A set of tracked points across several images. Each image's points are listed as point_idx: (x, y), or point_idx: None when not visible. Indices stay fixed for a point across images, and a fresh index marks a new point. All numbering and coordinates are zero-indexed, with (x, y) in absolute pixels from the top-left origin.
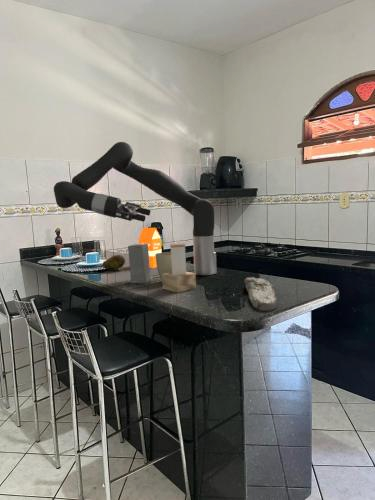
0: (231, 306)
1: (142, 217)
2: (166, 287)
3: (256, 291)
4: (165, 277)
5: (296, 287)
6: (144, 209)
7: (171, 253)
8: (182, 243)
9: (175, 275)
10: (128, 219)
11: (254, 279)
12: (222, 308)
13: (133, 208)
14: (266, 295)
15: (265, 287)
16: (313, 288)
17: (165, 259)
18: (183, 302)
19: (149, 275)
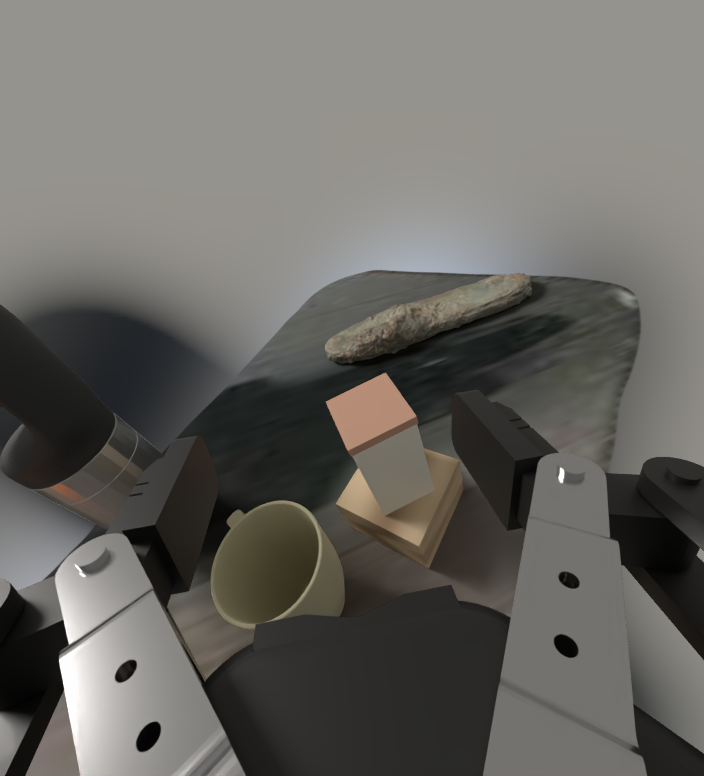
0: (534, 331)
1: (504, 409)
2: (437, 542)
3: (448, 310)
4: (431, 529)
5: (345, 308)
6: (178, 487)
7: (420, 439)
8: (338, 402)
9: (434, 477)
10: (696, 559)
11: (379, 325)
12: (560, 336)
13: (258, 626)
14: (472, 291)
15: (417, 306)
16: (349, 291)
17: (327, 544)
18: (567, 422)
19: None
